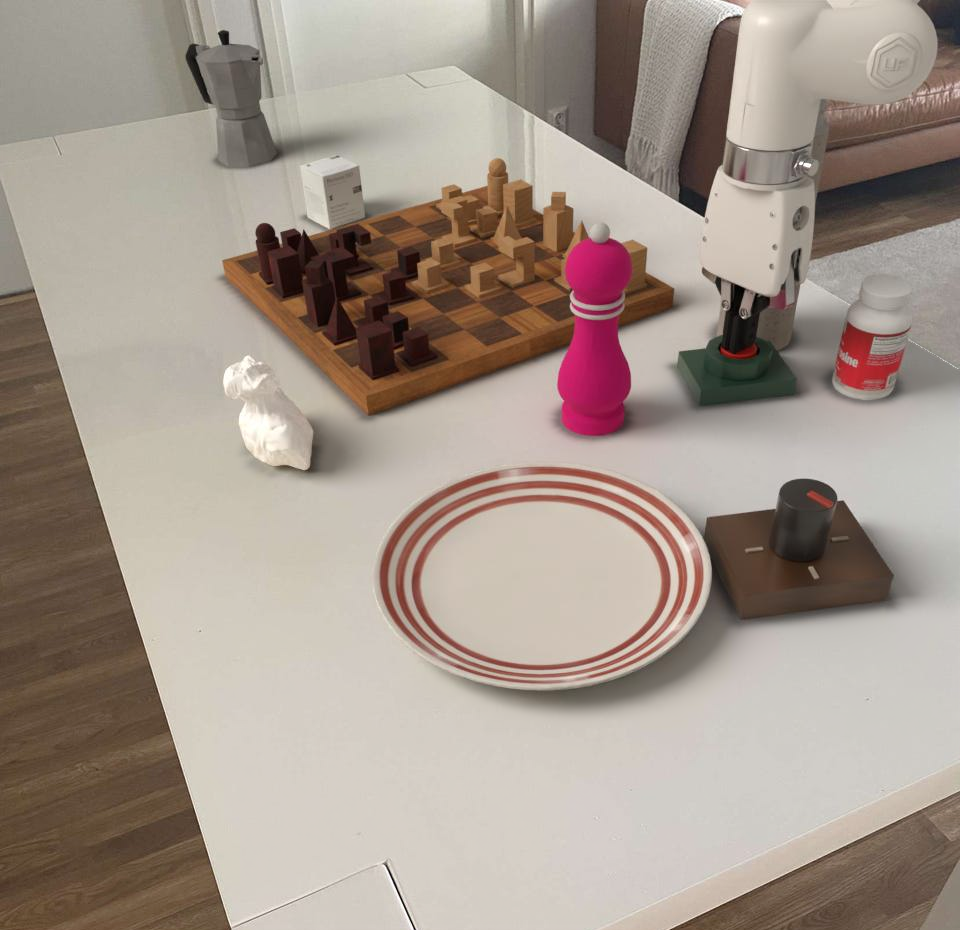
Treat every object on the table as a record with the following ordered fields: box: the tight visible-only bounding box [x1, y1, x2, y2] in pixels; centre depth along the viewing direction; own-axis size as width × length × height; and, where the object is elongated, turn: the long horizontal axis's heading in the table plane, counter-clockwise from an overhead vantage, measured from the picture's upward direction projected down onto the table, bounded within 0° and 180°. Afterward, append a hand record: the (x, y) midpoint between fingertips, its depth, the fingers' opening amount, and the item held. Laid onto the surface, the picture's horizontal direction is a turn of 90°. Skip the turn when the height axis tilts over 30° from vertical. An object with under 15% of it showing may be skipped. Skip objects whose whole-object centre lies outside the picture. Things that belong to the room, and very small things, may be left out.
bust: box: [222, 354, 314, 471], centre depth 97 cm, size 12×8×11 cm
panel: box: [703, 499, 895, 621], centre depth 83 cm, size 12×10×3 cm
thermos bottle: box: [716, 99, 830, 352], centre depth 102 cm, size 8×8×28 cm
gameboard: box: [221, 157, 675, 416], centre depth 120 cm, size 40×40×9 cm
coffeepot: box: [185, 29, 278, 168], centre depth 154 cm, size 15×9×18 cm, turn 57°
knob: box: [769, 478, 839, 562], centre depth 80 cm, size 4×4×5 cm
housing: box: [676, 335, 798, 407], centre depth 104 cm, size 10×8×4 cm
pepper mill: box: [556, 221, 632, 437], centre depth 95 cm, size 7×7×20 cm
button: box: [720, 344, 757, 360], centre depth 103 cm, size 4×4×2 cm
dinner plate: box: [372, 461, 713, 691], centre depth 83 cm, size 27×27×3 cm
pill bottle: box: [831, 273, 914, 401], centre depth 100 cm, size 6×6×11 cm
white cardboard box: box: [299, 154, 366, 230], centre depth 139 cm, size 6×6×7 cm
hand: (737, 346), depth 103 cm, fingers closed
